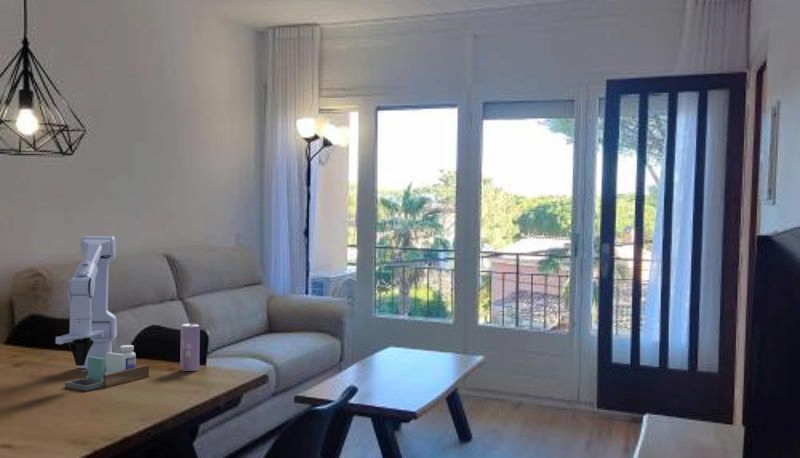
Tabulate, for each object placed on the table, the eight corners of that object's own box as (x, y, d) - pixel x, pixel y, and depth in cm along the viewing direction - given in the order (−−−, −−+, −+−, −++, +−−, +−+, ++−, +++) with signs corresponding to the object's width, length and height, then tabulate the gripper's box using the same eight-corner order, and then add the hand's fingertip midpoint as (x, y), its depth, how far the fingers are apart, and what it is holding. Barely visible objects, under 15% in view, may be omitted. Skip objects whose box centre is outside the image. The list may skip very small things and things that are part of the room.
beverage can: (202, 368, 220) (202, 323, 220) (194, 372, 215) (195, 326, 214) (184, 367, 221) (185, 323, 221) (177, 371, 215) (177, 325, 215)
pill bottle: (112, 377, 206) (113, 346, 206) (127, 374, 211) (127, 343, 211) (124, 379, 203) (125, 348, 203) (139, 376, 208) (139, 345, 208)
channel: (80, 382, 199) (80, 371, 199) (124, 372, 213) (124, 361, 213) (106, 387, 194) (106, 375, 194) (148, 376, 208) (149, 365, 208)
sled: (86, 382, 198) (86, 356, 198) (109, 376, 206) (109, 352, 205) (102, 385, 195) (103, 359, 195) (125, 379, 202) (125, 354, 202)
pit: (64, 387, 193) (64, 382, 193) (82, 383, 198) (82, 378, 198) (85, 391, 189) (86, 386, 189) (103, 387, 194) (103, 382, 194)
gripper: (67, 322, 184) (67, 371, 184) (111, 316, 197) (110, 362, 197) (51, 320, 187) (50, 368, 187) (95, 314, 200) (94, 359, 200)
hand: (80, 365), depth 192 cm, fingers closed
